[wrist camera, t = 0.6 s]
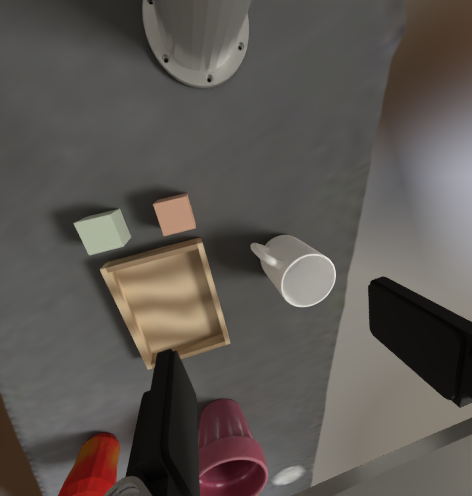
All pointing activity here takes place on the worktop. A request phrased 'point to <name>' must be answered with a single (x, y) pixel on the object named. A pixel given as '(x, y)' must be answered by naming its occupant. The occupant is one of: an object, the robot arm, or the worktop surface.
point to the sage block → (103, 231)
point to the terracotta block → (174, 214)
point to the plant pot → (228, 453)
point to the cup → (296, 270)
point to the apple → (93, 467)
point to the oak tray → (168, 300)
